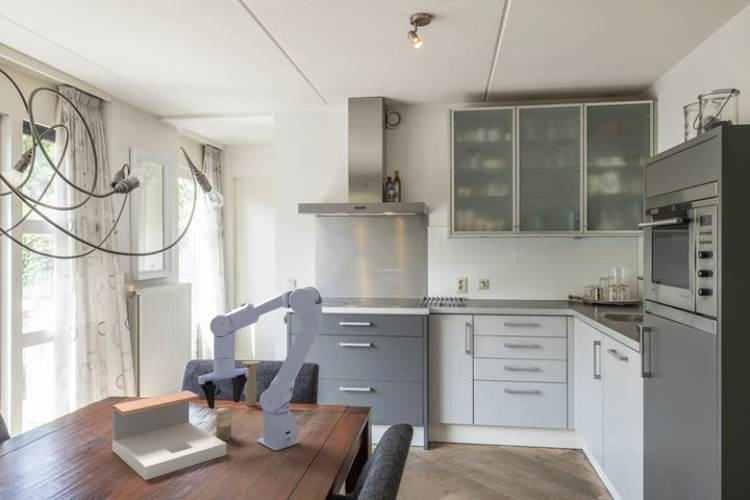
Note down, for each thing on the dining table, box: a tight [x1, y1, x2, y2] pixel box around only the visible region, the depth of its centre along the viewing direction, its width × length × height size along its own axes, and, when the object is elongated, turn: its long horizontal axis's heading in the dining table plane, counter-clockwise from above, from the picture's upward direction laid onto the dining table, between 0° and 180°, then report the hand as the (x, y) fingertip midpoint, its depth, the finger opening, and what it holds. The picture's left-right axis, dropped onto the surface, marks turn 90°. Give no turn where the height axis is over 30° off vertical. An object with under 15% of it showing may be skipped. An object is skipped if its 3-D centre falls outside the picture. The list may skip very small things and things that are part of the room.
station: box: [111, 389, 227, 481], centre depth 124 cm, size 24×20×12 cm
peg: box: [215, 407, 232, 442], centre depth 134 cm, size 4×4×8 cm
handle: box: [240, 360, 262, 407], centre depth 164 cm, size 5×6×15 cm
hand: (223, 404), depth 134 cm, fingers open, 7 cm apart
